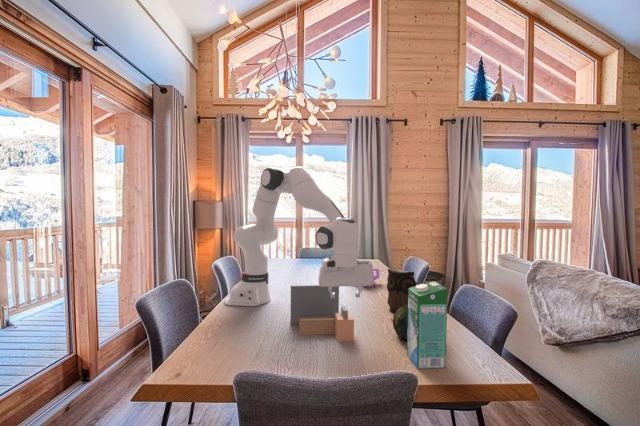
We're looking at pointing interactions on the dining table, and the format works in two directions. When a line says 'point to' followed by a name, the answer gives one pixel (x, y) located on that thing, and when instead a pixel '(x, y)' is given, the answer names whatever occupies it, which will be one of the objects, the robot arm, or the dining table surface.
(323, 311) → the board
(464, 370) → the dining table surface
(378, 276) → the teakettle
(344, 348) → the dining table surface
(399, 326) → the squash
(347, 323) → the tall peach box
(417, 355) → the milk carton
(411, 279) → the owl
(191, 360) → the dining table surface
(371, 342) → the dining table surface
